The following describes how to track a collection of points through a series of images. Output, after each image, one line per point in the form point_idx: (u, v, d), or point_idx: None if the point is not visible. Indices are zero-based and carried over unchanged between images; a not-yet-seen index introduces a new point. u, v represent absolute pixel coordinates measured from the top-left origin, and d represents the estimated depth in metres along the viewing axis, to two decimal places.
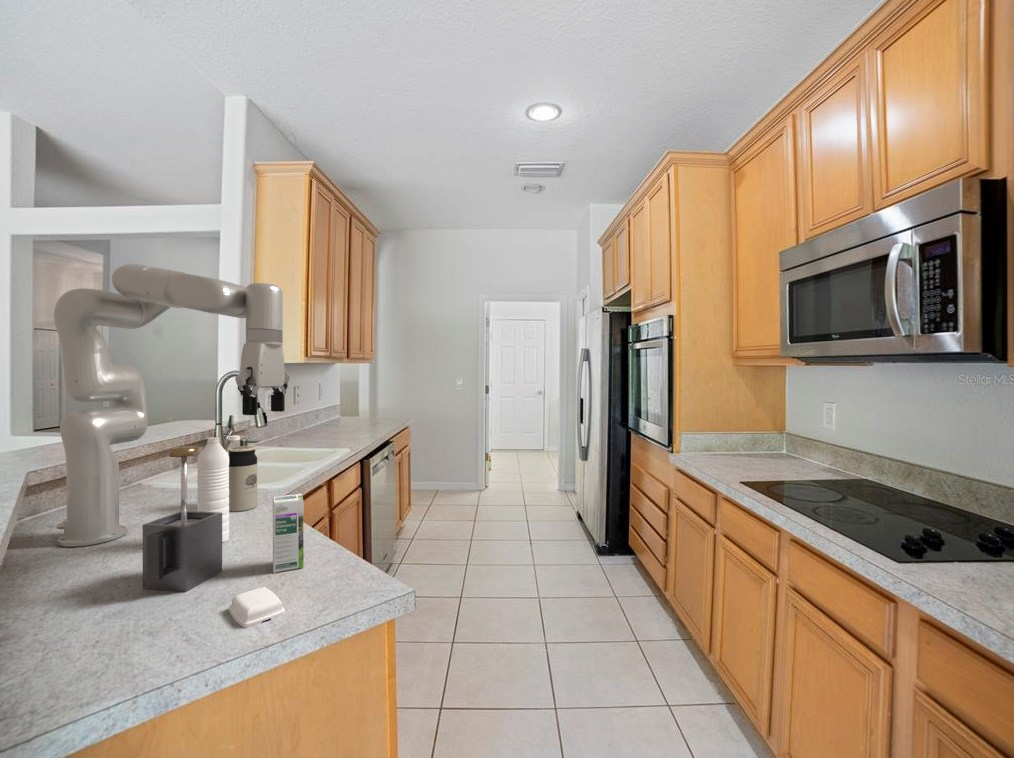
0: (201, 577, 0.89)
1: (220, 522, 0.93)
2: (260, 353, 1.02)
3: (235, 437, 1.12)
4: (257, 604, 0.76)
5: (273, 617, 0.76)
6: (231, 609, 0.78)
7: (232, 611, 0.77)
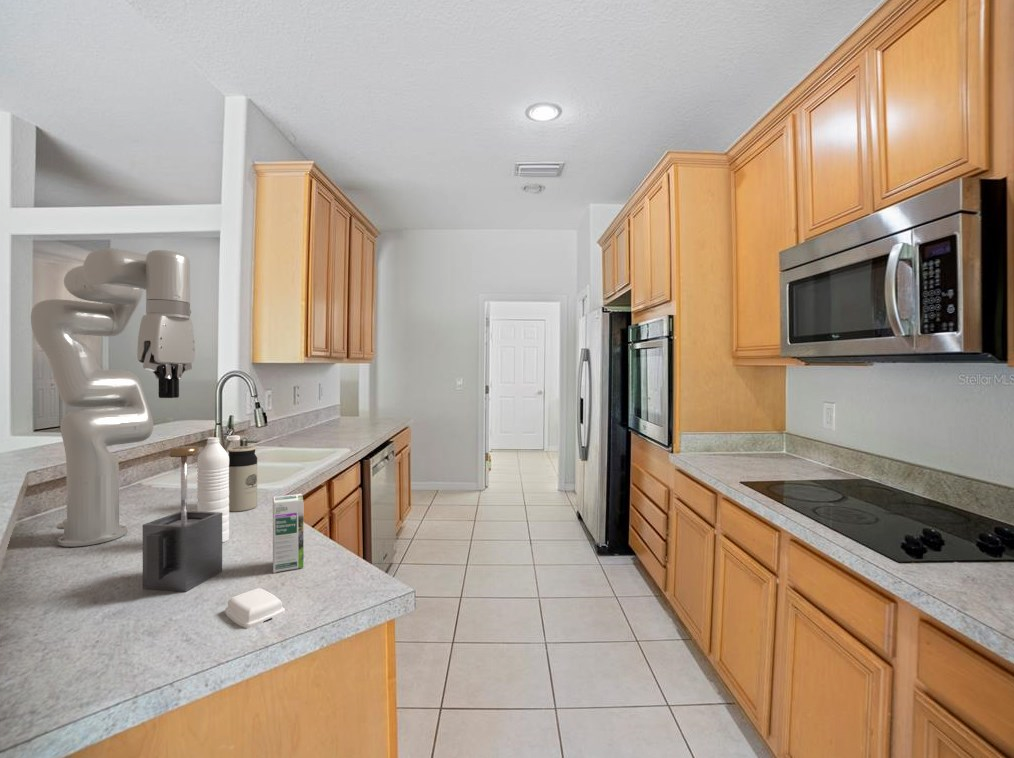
0: (201, 577, 0.89)
1: (220, 522, 0.93)
2: (159, 326, 0.93)
3: (235, 437, 1.12)
4: (257, 604, 0.76)
5: (274, 616, 0.76)
6: (228, 611, 0.77)
7: (229, 613, 0.77)
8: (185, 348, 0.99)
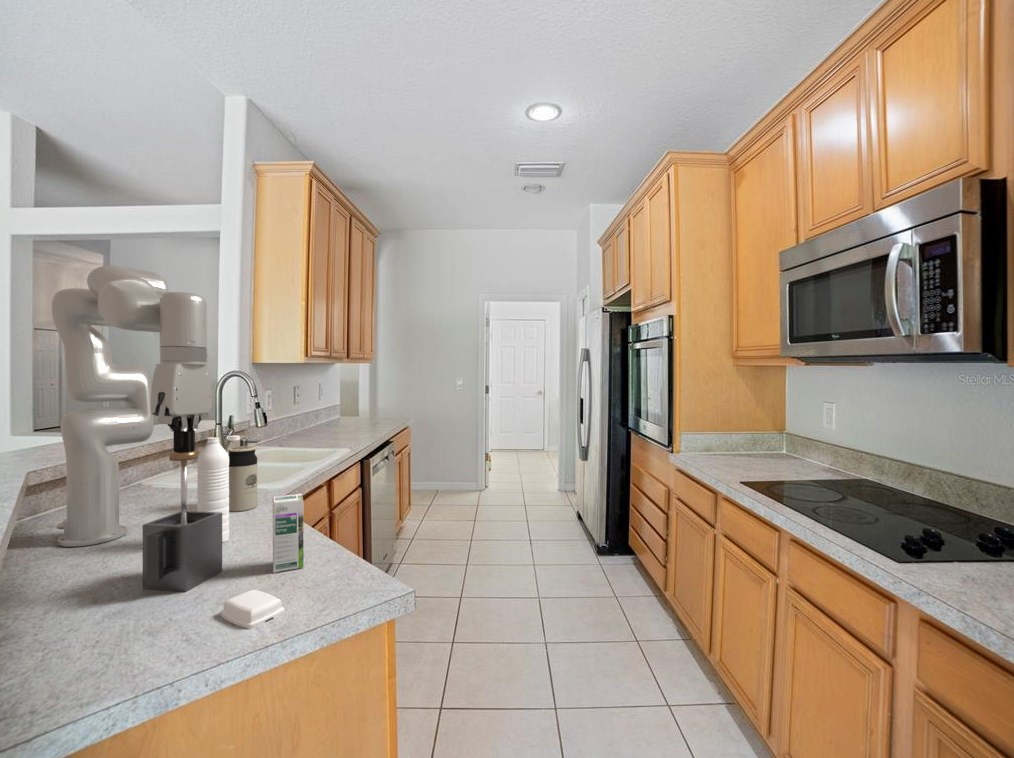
0: (201, 577, 0.89)
1: (220, 522, 0.93)
2: (175, 375, 0.85)
3: (235, 437, 1.12)
4: (257, 604, 0.76)
5: (275, 616, 0.77)
6: (225, 614, 0.76)
7: (227, 615, 0.76)
8: (202, 397, 0.91)
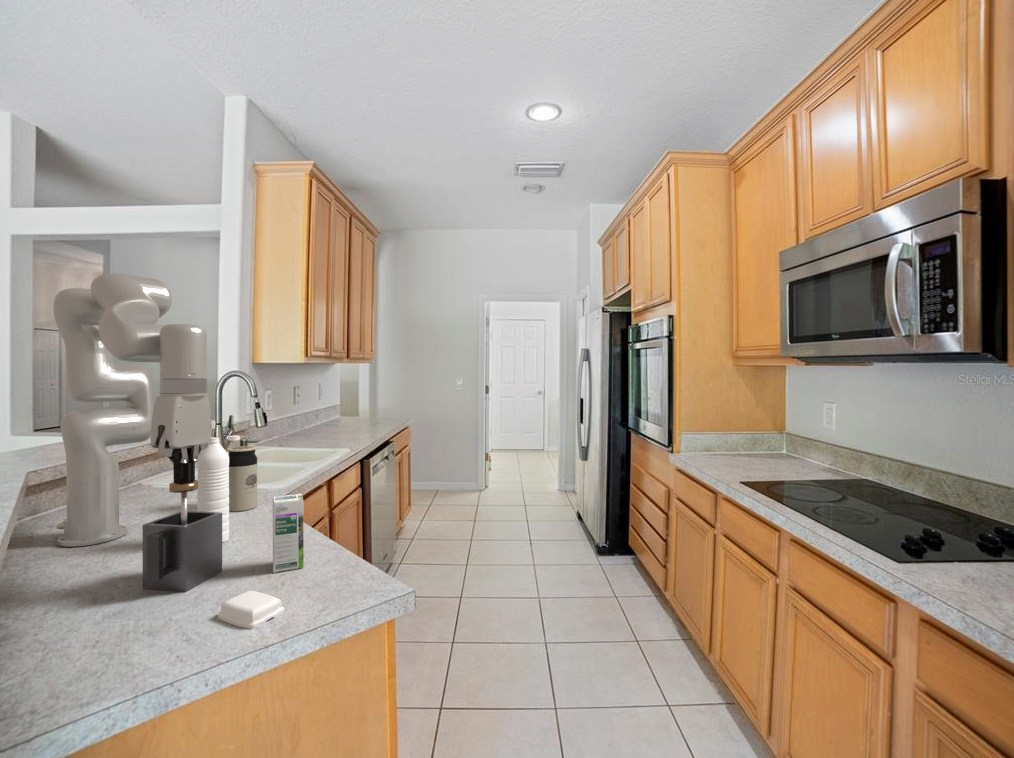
0: (201, 577, 0.89)
1: (220, 522, 0.93)
2: (175, 408, 0.85)
3: (235, 437, 1.12)
4: (258, 605, 0.76)
5: (275, 615, 0.77)
6: (223, 616, 0.76)
7: (226, 617, 0.75)
8: (202, 427, 0.91)
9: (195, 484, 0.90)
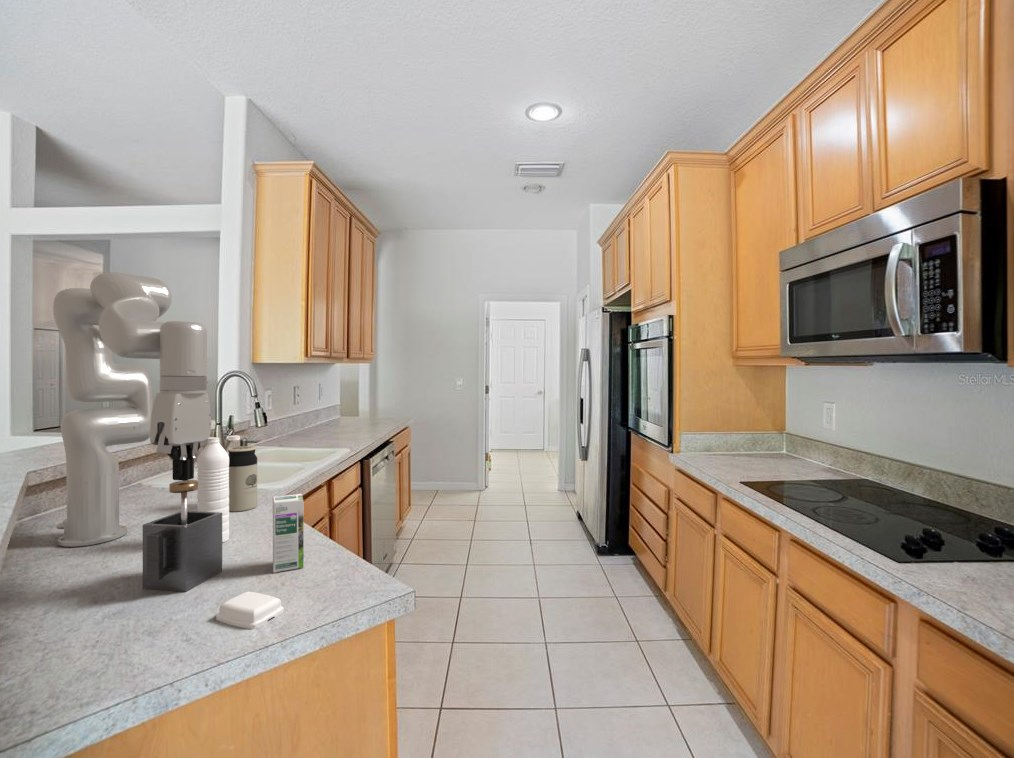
0: (201, 577, 0.89)
1: (220, 522, 0.93)
2: (174, 405, 0.86)
3: (235, 437, 1.12)
4: (258, 605, 0.76)
5: (276, 615, 0.77)
6: (222, 617, 0.75)
7: (225, 618, 0.75)
8: (201, 424, 0.91)
9: (195, 484, 0.90)
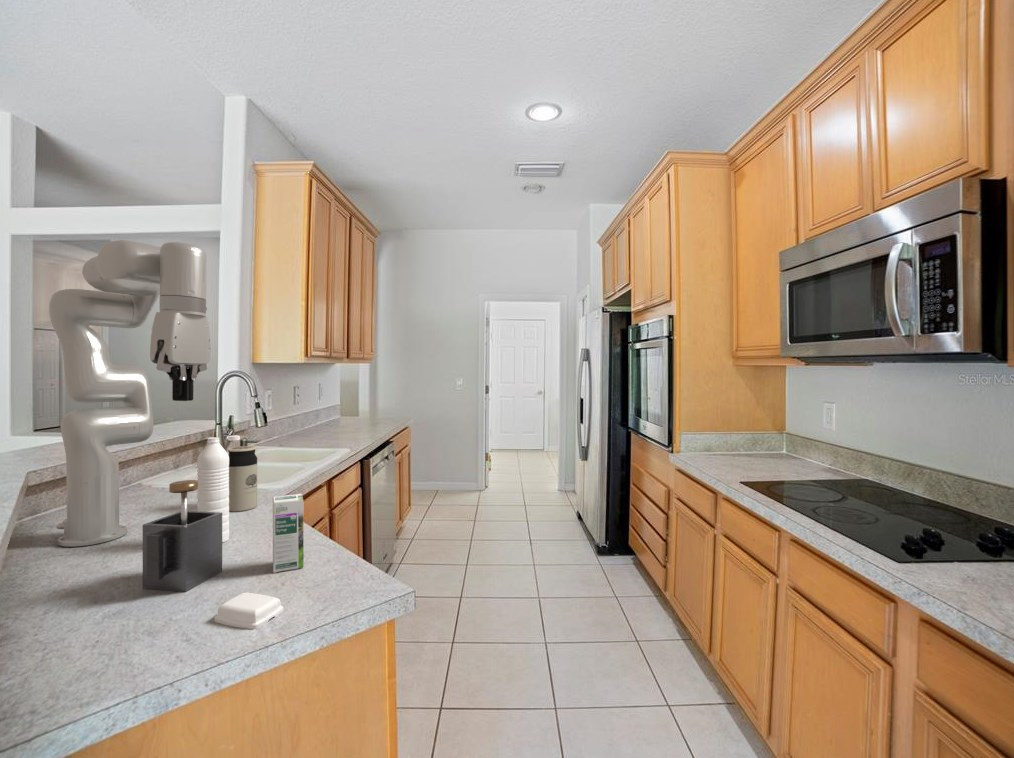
0: (201, 577, 0.89)
1: (220, 522, 0.93)
2: (174, 323, 0.87)
3: (235, 437, 1.12)
4: (258, 605, 0.76)
5: (276, 614, 0.77)
6: (221, 618, 0.75)
7: (225, 620, 0.75)
8: (200, 348, 0.93)
9: (195, 484, 0.90)
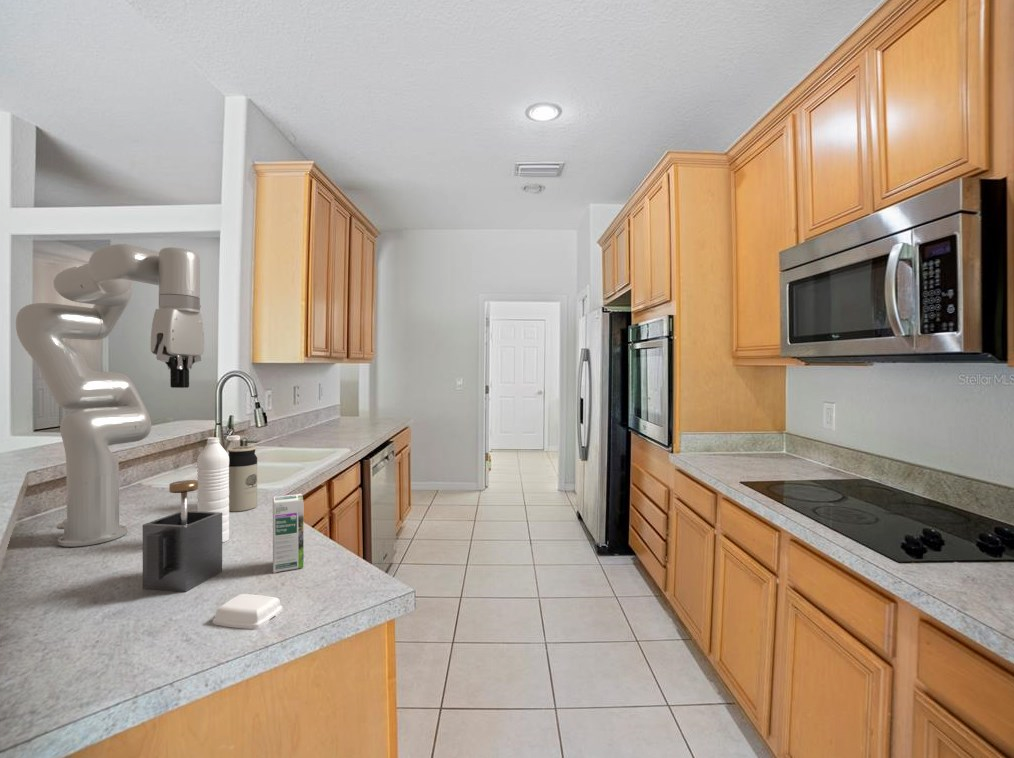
0: (201, 577, 0.89)
1: (220, 522, 0.93)
2: (171, 319, 0.99)
3: (235, 437, 1.12)
4: (259, 605, 0.76)
5: (276, 614, 0.77)
6: (220, 620, 0.74)
7: (224, 621, 0.74)
8: (195, 340, 1.05)
9: (195, 484, 0.90)
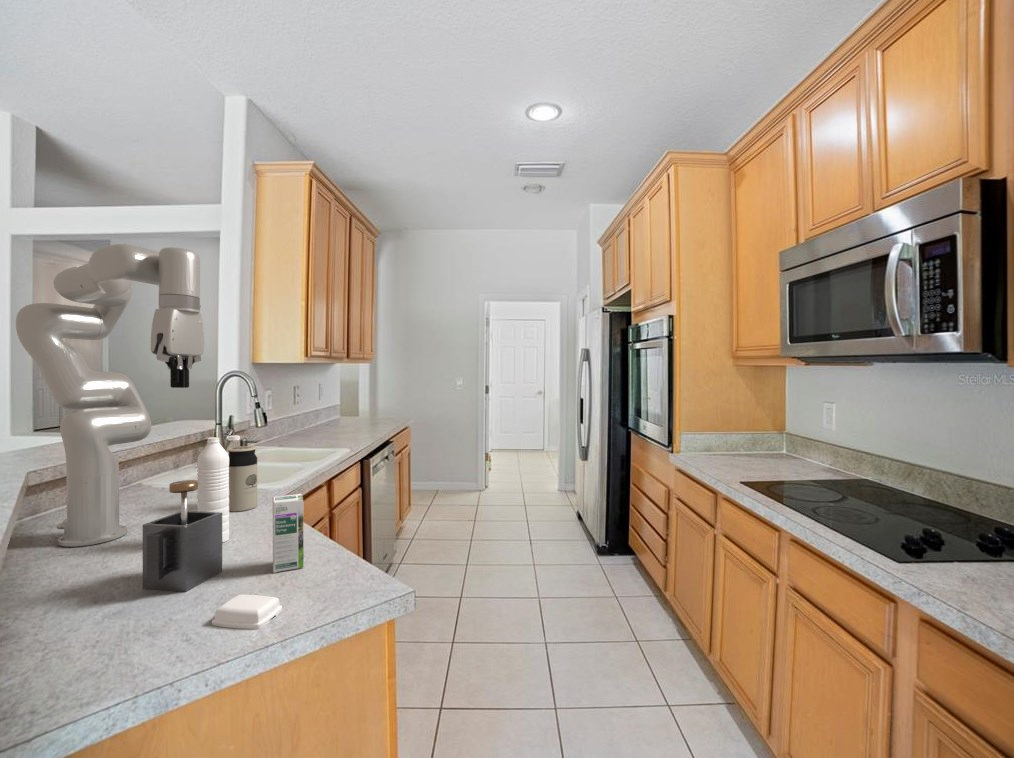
0: (201, 577, 0.89)
1: (220, 522, 0.93)
2: (171, 319, 0.99)
3: (235, 437, 1.12)
4: (259, 605, 0.76)
5: (276, 613, 0.77)
6: (220, 621, 0.74)
7: (224, 622, 0.74)
8: (195, 340, 1.05)
9: (195, 484, 0.90)
